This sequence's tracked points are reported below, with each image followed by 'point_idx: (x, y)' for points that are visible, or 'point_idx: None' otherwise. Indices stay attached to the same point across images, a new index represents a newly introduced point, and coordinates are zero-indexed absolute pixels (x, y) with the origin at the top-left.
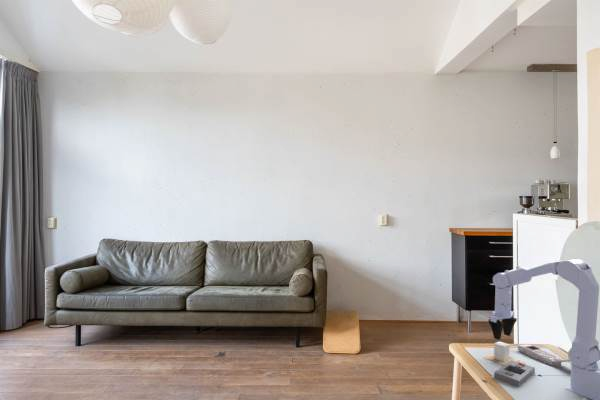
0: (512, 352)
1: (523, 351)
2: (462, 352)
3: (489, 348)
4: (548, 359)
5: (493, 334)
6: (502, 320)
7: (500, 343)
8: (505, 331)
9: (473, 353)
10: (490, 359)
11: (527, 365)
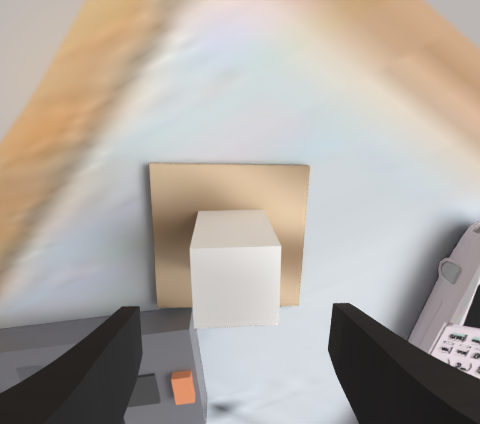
0: (415, 212)
1: (451, 264)
2: (117, 6)
3: (367, 90)
4: None
5: (100, 326)
6: (441, 412)
7: (235, 278)
8: (347, 339)
9: (177, 71)
10: (160, 208)
11: (198, 402)
